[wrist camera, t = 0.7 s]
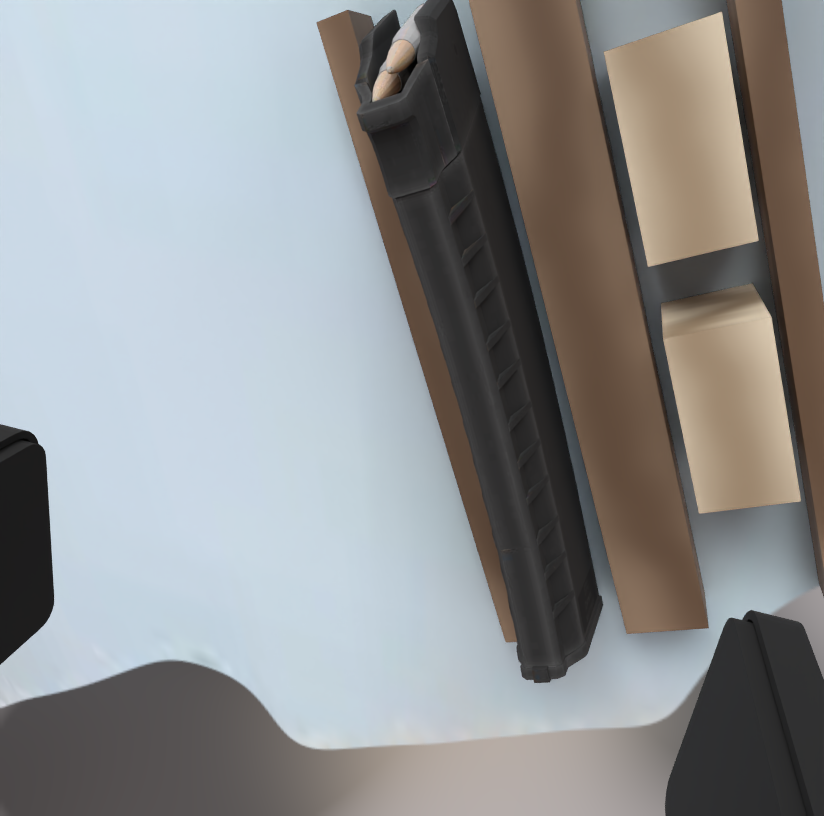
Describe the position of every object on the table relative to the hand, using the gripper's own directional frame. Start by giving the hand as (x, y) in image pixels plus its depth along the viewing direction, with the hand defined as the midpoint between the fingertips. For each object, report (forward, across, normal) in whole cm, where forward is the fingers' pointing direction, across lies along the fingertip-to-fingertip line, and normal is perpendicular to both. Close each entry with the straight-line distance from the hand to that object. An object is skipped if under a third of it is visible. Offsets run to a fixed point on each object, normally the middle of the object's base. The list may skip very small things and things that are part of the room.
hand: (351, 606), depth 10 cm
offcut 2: (+29, -10, +4) cm, 31 cm away
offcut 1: (+29, -5, -6) cm, 30 cm away
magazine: (+30, 0, +4) cm, 30 cm away
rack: (+29, -4, +2) cm, 29 cm away
